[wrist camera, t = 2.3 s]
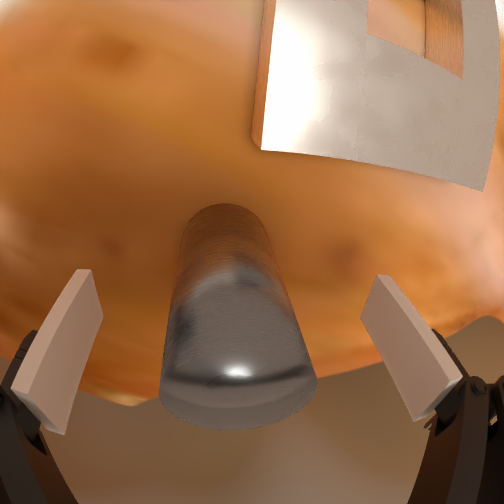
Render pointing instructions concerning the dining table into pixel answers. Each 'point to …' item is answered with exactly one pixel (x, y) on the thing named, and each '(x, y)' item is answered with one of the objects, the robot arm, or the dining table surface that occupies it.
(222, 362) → the dark steel cylinder
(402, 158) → the block
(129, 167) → the dining table surface
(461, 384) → the robot arm
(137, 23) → the dining table surface
